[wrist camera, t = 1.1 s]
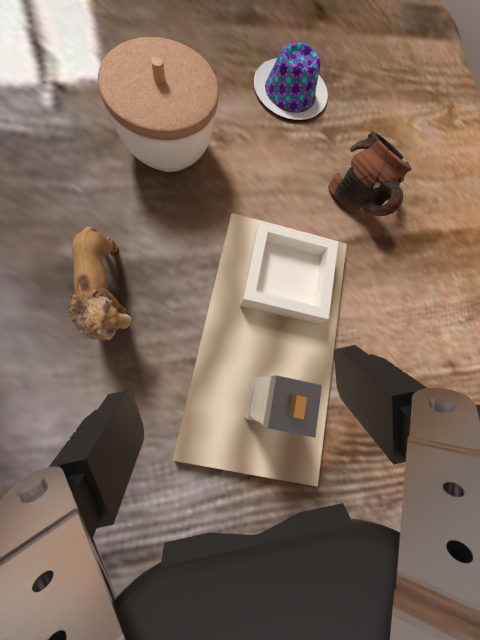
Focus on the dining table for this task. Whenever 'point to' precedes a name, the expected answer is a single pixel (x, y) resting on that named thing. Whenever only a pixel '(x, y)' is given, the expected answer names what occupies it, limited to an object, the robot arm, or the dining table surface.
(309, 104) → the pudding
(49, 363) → the dining table surface
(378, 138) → the pottery mug
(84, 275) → the lion figurine
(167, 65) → the lidded bowl
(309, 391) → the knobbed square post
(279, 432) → the board
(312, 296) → the box
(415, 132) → the dining table surface
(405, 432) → the robot arm
